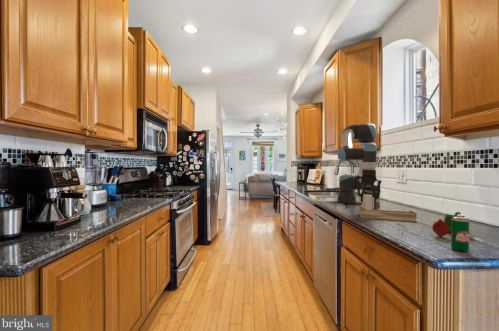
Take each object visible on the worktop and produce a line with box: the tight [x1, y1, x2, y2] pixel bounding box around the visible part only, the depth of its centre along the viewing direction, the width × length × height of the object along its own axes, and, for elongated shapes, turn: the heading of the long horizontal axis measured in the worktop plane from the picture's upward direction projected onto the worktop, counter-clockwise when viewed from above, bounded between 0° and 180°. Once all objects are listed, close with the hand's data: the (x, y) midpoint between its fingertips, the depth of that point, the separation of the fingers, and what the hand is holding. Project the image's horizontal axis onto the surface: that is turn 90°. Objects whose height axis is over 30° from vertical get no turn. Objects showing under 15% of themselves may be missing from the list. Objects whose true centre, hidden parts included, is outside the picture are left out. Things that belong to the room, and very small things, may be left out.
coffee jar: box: [363, 184, 381, 210], centre depth 159 cm, size 10×8×19 cm
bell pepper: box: [443, 211, 465, 234], centre depth 114 cm, size 8×8×10 cm
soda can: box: [450, 215, 470, 253], centre depth 91 cm, size 5×5×12 cm
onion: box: [432, 218, 450, 238], centre depth 108 cm, size 6×6×8 cm
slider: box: [363, 195, 372, 211], centre depth 149 cm, size 4×4×10 cm
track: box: [359, 206, 418, 222], centre depth 146 cm, size 10×28×5 cm, turn 71°
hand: (368, 208), depth 149 cm, fingers open, 5 cm apart
